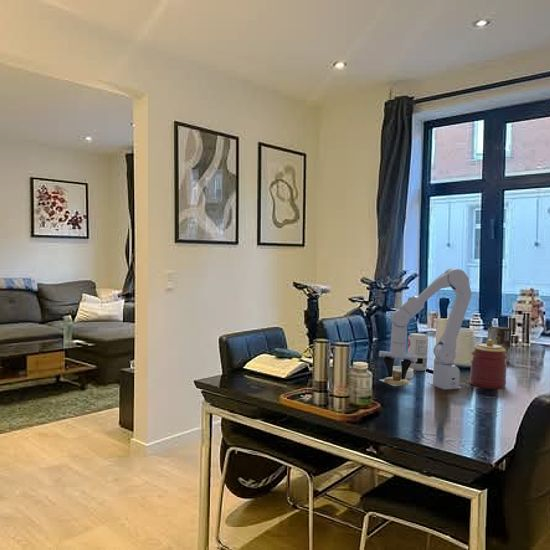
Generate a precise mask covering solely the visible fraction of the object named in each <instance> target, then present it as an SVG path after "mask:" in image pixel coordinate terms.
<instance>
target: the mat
mask: <svg viewBox="0 0 550 550" xmlns="http://www.w3.org/2000/svg"><path fill="white" fill-rule="evenodd" d="M384 379H385V378H383V379H381V378H380V379H379V381H380V382H382V383H385V384H388V385H390V386H393V387H398V386H399V387H401V386H402V385H395V384H389V383H386V382H385V381H384ZM413 385H416V384H415V383H413V382H410V381H409V384H407V385H406V386H413Z"/></svg>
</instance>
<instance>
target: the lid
mask: <svg viewBox="0 0 550 550" xmlns="http://www.w3.org/2000/svg"><path fill="white" fill-rule="evenodd" d="M383 379H384V381H385V382H386V383H385V382H384V383H385V384H388V383H389V384H388V385H390V384H395V385H401V386H408V385H407V384H409V382H410V380H409V379H404V380H402V379H401V371H393V377H389V376H388V377H384V378H383Z"/></svg>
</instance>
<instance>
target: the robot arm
mask: <svg viewBox="0 0 550 550" xmlns="http://www.w3.org/2000/svg"><path fill="white" fill-rule="evenodd" d="M470 286H471V285H470V278H469V276H468V275H467V273H466V272H465V271H464V270H462V269H460V268H447V270H445V271H444V273H441V274H440V275H439V276H438V277H436V279H434V280H433V281H432V282H431V283H430V284H429V285H428V286H427V287H426V288H424V289H423V291H421V292H420V293H419V295H413V296H412V297H411V296H410V297H407V300H406V302H405V303H404V304H402V305H401V306H398V307H397V308H398V309H397V310H395V311H393V312H392V313H391V316H390V321H391V322H392V323H391V330H390V331H391V332H390V334H391V336H390V337H391V338H390V350H389V351H386V350H385V351H384V350H379V351H378V356H379V357H383V362H384V365H385V368H386V369H387V374H388V375H387V376H388V377H392V375H393V366H394V363H395V359H396V360H401V361H400V366H401V367H402V373H401V379H402V380H404V379H405V377H406V373H407V371H408V368H409V366H410V365H411V363H412V361H413V362H417V358H418V356H413V355H409V354H407V342H408V338H407V336H408V324H409V323H410V319H412V318H414V317H415V316H416V315H417V314H419V312H420V311H421V310H423V309H424V308H425V302H427V301H428V300H429V299H430V298H432V297H433V296H434V295H435V294H436V293H437V292H439V291H441V290H442V289H445V288H451V289H452V291H453V293H454V294H455V298H454V301H453V303H452V307H451V310H450V313H449V315H448V319H447V321H446V324H445V328H444V330H443V334H442V335H441V336H440V337H439V339H438V342H437V343H436V345H434V347H433V354H434V356H435V358H434V359H433V372H432V381H429V382H427V384H429V385H431V386H434V387H437V388H439V389H442V390H455V389H457V390H458V389H461V388H462V387H461V386H460V378H461V376H460V375H461V371H460V368H459V367H458V366H456V365H455V359H456V358H457V353H456V349H457V346H458V345H457V339H458V336H459V333H460V330H461V327H462V325H463V322H464V318H465V315H466V313H467V310H468V307H469V304H470V302H471V298H472V295H473V294H472V289H471V287H470Z"/></svg>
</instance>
